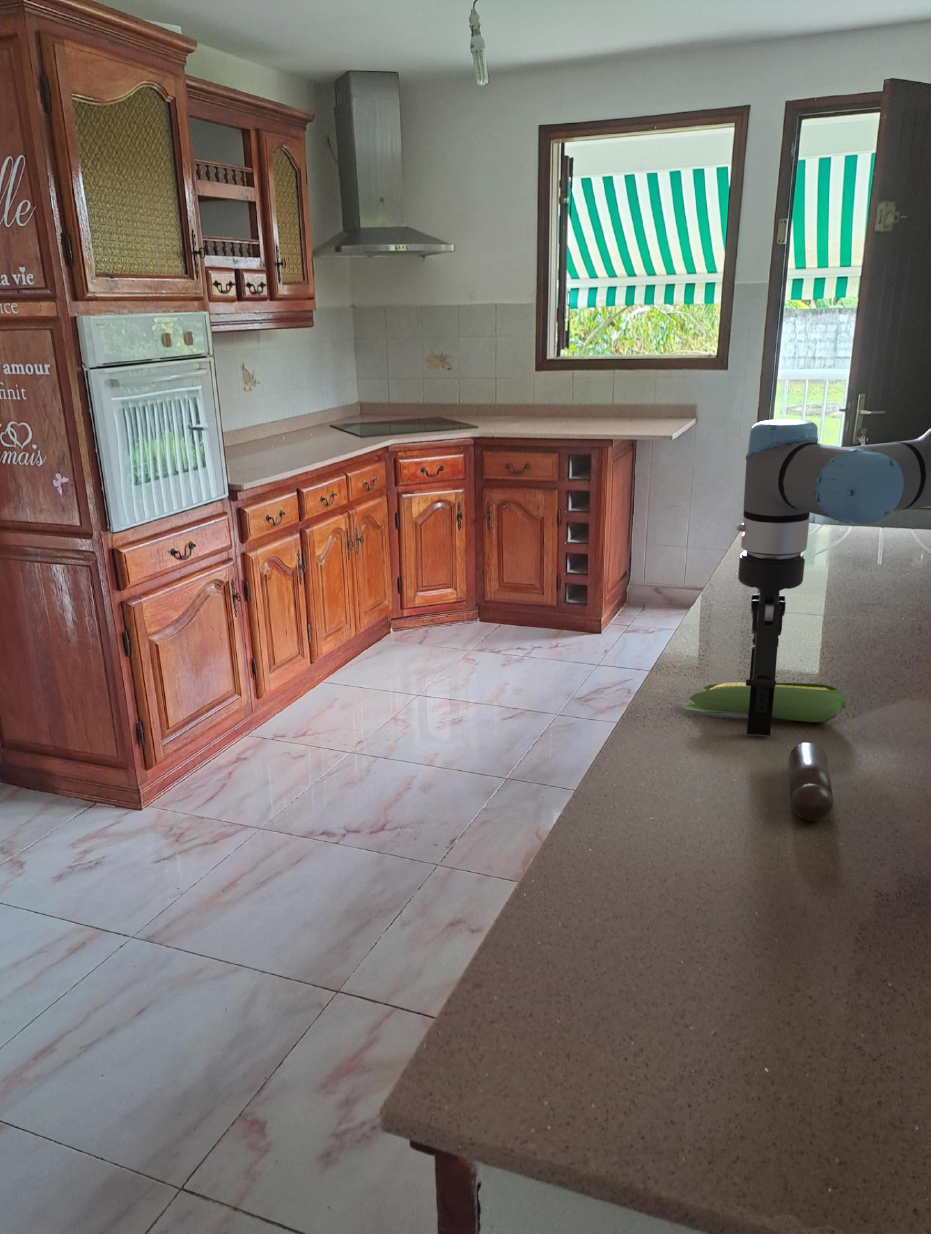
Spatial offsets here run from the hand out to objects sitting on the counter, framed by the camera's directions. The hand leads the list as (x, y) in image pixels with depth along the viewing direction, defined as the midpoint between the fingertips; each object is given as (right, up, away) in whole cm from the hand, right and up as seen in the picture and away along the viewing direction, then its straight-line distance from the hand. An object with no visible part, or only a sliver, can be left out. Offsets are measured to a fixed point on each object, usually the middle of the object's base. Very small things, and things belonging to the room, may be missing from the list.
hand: (758, 713), depth 125 cm
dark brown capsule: (-2, -8, -21) cm, 23 cm away
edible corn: (0, -1, 0) cm, 1 cm away
